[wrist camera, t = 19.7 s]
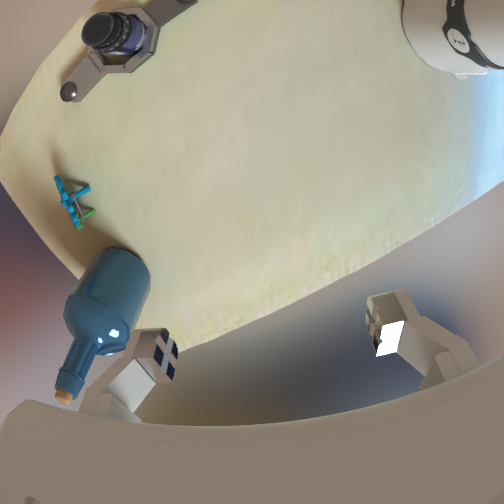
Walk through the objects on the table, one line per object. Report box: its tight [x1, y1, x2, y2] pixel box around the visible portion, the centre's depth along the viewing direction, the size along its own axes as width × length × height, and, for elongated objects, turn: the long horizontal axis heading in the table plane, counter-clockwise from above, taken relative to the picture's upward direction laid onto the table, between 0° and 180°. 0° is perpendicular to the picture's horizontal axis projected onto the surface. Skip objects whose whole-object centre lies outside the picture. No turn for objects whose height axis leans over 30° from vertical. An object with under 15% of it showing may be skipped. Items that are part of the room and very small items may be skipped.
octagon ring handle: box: [60, 0, 198, 103], centre depth 28 cm, size 26×11×3 cm, turn 123°
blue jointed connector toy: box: [54, 175, 95, 231], centre depth 41 cm, size 11×6×10 cm
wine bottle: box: [55, 248, 150, 405], centre depth 40 cm, size 14×13×30 cm
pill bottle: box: [81, 11, 147, 56], centre depth 24 cm, size 6×6×11 cm
